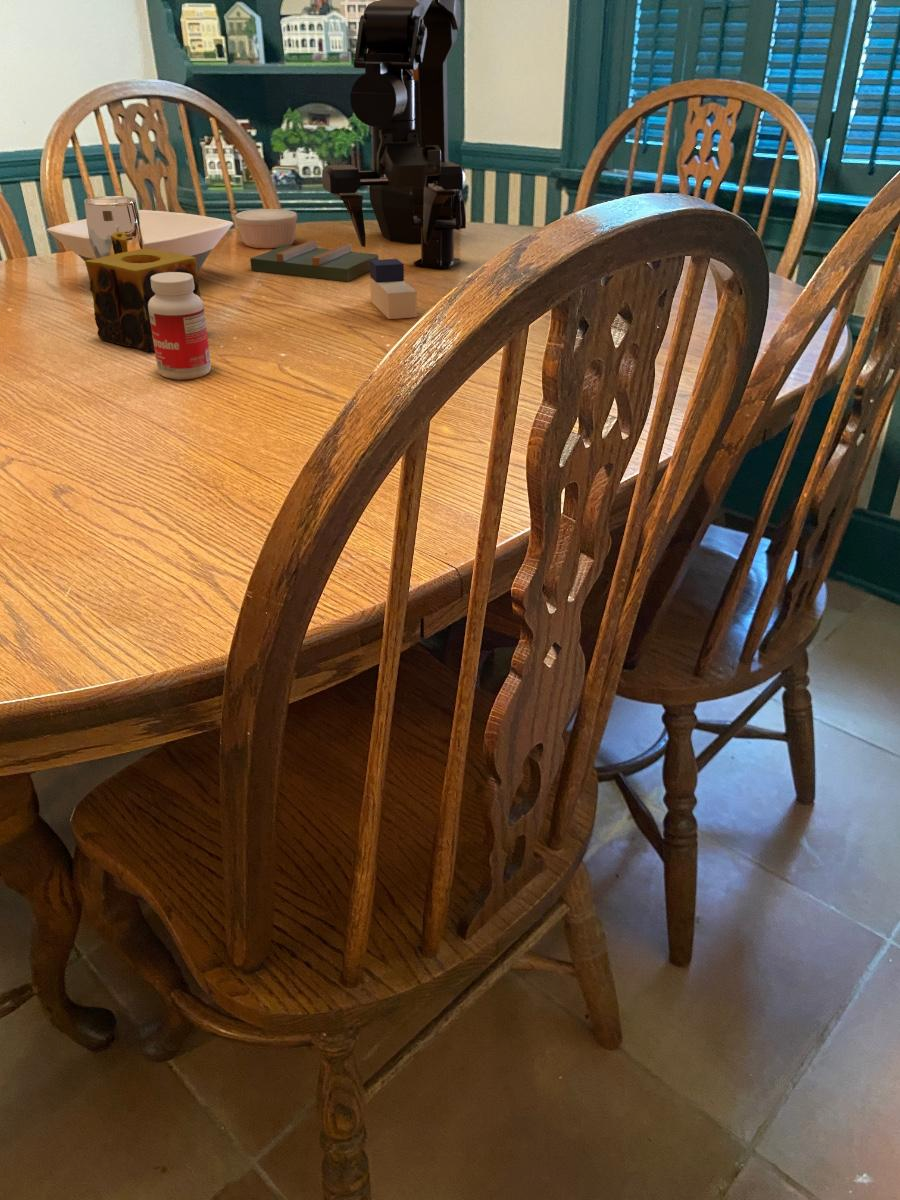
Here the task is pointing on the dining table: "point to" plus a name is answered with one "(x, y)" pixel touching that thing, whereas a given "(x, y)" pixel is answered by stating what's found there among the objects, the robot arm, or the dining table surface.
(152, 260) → the candle
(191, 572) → the dining table surface
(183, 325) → the pill bottle
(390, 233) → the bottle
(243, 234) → the ramekin
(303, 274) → the green board with rails
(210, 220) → the bowl
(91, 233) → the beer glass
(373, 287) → the cream and navy block
